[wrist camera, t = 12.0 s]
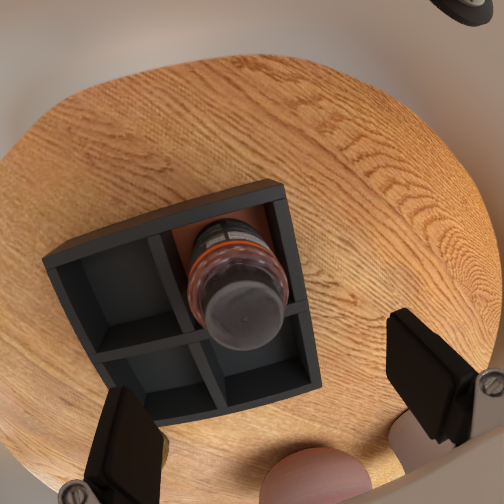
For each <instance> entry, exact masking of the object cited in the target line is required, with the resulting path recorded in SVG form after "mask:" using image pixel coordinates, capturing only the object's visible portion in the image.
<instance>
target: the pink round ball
mask: <svg viewBox="0 0 504 504" xmlns="http://www.w3.org/2000/svg"><path fill="white" fill-rule="evenodd" d="M370 490H372V483H371V479H370V477H369V474H368V472H367V470H366V469H365V468H364V466H363V465H362V464H361V463H360V462H359V461H358V460H357V459H356V458H354V457H353V456H351V455H349V454H347V453H345V452H343V451H340V450H337V449H332V448H309V449H305V450H301V451H298V452H295V453H293V454H291V455H289V456H287V457H286V458H284V459H282V460H281V461H280V462H278V463H277V464H276V465H275V466H274V467H273V468H272V469H271V470H270V472H269V473H268V474H267V476H266V477H265V479H264V481H263V483H262V486H261V490H260V494H259V504H334V503H337V502H340V501H343V500H346V499H349V498H352V497H354V496H357V495H360V494H362V493H365V492H367V491H370Z"/></svg>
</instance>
